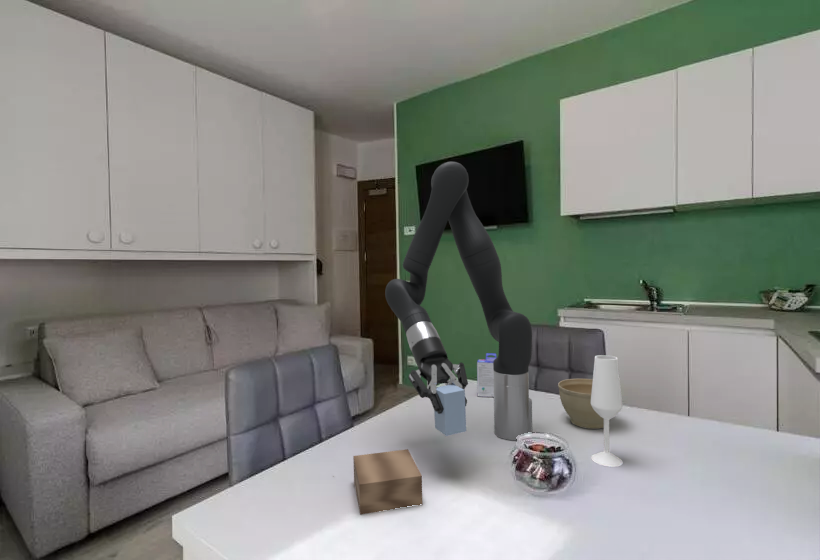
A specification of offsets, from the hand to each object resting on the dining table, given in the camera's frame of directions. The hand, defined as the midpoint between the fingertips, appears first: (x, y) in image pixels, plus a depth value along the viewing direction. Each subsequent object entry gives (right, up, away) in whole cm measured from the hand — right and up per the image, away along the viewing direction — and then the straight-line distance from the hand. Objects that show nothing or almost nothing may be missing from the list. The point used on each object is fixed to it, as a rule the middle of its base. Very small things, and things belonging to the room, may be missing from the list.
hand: (452, 409), depth 89 cm
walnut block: (-14, -16, -5) cm, 22 cm away
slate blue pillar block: (0, -5, +1) cm, 5 cm away
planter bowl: (+42, -13, +30) cm, 53 cm away
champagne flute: (+37, -14, +7) cm, 40 cm away
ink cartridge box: (+20, -13, +57) cm, 61 cm away
